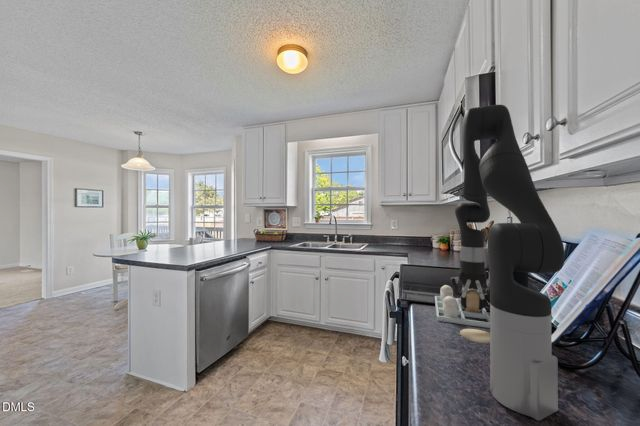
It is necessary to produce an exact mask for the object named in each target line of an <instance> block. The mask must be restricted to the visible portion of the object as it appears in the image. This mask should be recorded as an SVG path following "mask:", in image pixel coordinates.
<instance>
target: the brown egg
mask: <svg viewBox="0 0 640 426" xmlns="http://www.w3.org/2000/svg"><path fill="white" fill-rule="evenodd" d="M465 297H466V308H465V309H464V311H465V312H473V313H481V311H480V310H479V299H480V297H479V294H478V291H477V290H475V289H468V291H467V293H466V296H465Z"/></svg>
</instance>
